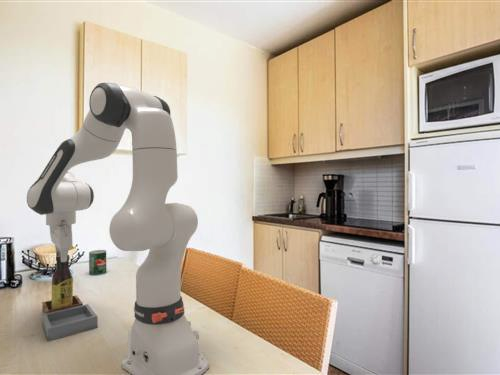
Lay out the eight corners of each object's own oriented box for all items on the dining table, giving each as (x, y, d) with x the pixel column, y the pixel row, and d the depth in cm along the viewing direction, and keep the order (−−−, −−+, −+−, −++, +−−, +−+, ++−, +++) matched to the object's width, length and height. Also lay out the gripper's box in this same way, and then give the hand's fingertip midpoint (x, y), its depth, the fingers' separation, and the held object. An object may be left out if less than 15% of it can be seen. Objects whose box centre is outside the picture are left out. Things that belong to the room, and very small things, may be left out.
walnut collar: (82, 313, 107) (82, 303, 106) (46, 322, 100) (46, 311, 100) (76, 304, 115) (76, 295, 115) (42, 312, 108) (42, 302, 108)
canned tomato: (101, 275, 152) (101, 253, 152) (85, 275, 152) (85, 253, 152) (109, 271, 160) (109, 249, 160) (94, 271, 160) (94, 249, 160)
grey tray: (97, 327, 96) (97, 316, 96) (47, 341, 88) (47, 328, 88) (87, 314, 106) (87, 304, 106) (42, 325, 98) (42, 314, 98)
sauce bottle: (62, 317, 103) (61, 258, 103) (46, 316, 105) (46, 257, 104) (77, 309, 110) (76, 254, 110) (62, 308, 111) (61, 253, 111)
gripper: (77, 221, 101) (77, 263, 101) (66, 216, 117) (66, 252, 117) (54, 222, 97) (55, 266, 97) (46, 217, 113) (46, 254, 113)
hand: (61, 258), depth 107 cm, fingers open, 8 cm apart
